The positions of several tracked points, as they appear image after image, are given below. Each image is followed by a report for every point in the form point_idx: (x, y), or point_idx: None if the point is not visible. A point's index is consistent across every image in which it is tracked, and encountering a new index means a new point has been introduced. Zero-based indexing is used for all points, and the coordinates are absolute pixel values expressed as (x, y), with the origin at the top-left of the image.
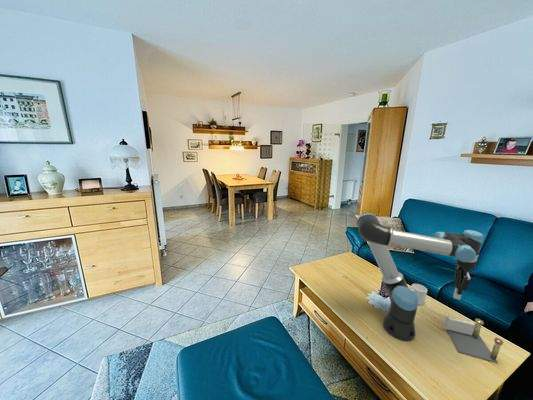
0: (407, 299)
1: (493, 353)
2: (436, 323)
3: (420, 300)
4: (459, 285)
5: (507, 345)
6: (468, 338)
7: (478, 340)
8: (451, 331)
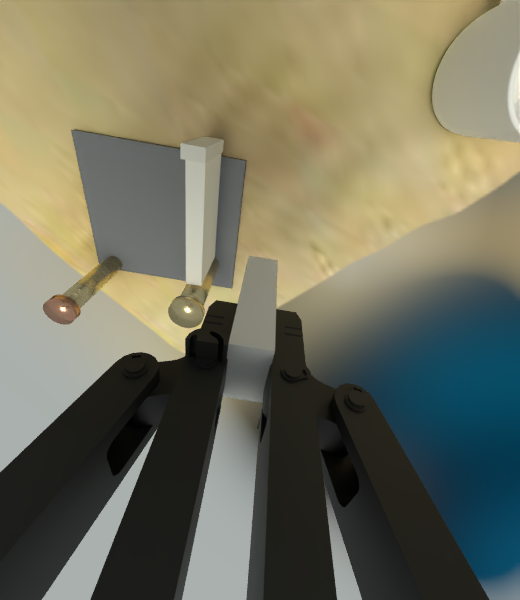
0: None
1: (94, 268)
2: (262, 119)
3: (454, 71)
4: (167, 411)
5: None
6: None
7: None
8: None
